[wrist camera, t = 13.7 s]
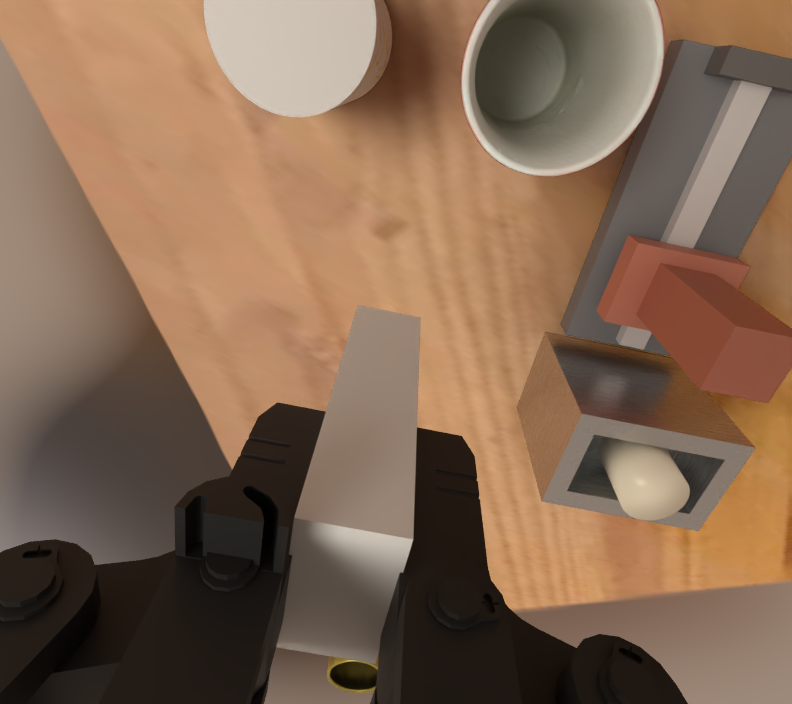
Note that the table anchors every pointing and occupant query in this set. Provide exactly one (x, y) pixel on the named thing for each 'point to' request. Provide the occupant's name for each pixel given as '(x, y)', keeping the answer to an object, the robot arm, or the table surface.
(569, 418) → the grey box holder
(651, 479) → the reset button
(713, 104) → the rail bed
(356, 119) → the table surface
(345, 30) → the cup
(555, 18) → the mug
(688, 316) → the carriage
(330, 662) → the vase
